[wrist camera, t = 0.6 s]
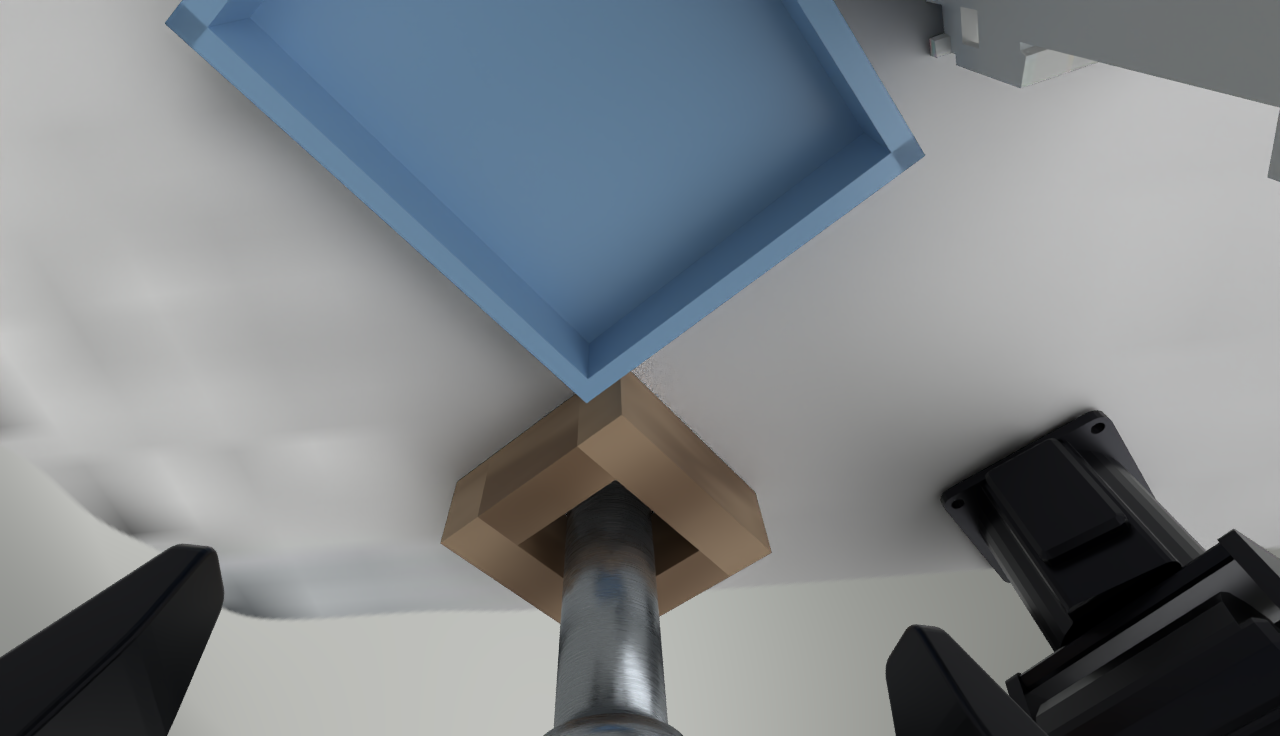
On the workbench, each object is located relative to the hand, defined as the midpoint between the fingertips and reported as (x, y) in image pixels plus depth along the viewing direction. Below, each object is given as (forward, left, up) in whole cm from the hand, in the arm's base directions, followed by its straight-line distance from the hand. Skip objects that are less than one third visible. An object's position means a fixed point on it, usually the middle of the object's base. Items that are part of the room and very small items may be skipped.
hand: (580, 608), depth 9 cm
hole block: (-8, +6, -13) cm, 17 cm away
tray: (+4, -3, -13) cm, 14 cm away
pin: (-8, +6, -13) cm, 17 cm away
